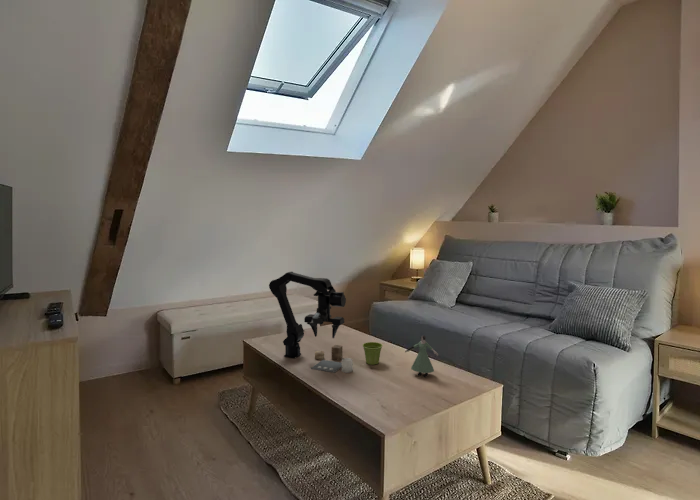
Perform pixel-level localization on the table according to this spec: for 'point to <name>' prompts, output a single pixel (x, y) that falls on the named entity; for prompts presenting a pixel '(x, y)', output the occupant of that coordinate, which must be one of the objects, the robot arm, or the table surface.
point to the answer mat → (328, 366)
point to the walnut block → (336, 352)
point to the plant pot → (372, 352)
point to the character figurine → (422, 358)
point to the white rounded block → (347, 365)
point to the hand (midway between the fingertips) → (324, 337)
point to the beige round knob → (319, 355)
